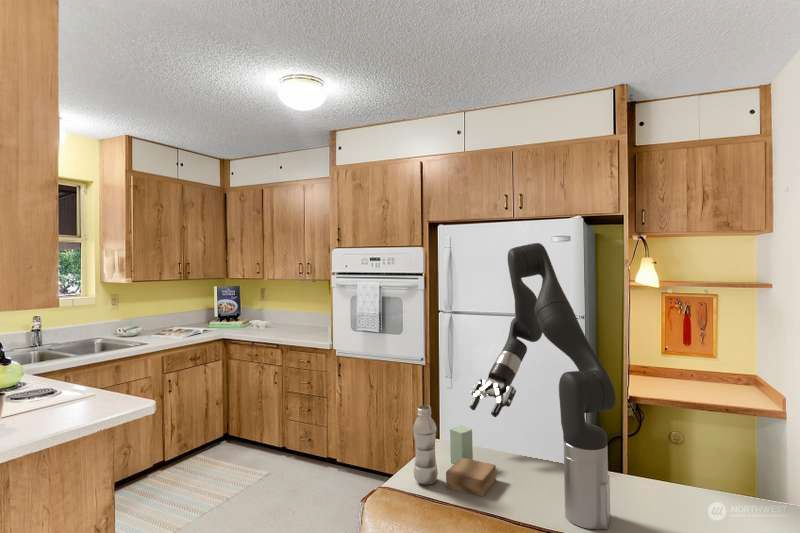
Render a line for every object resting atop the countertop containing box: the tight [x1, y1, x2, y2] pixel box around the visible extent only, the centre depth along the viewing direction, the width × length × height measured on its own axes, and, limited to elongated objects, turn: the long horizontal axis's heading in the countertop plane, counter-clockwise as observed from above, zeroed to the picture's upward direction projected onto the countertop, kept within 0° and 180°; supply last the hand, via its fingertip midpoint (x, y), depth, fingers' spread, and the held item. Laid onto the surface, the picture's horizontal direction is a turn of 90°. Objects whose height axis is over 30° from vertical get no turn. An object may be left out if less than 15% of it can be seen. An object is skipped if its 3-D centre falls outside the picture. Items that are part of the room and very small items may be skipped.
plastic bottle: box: [412, 405, 439, 485], centre depth 121 cm, size 6×7×20 cm
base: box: [445, 458, 497, 497], centre depth 119 cm, size 10×10×4 cm
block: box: [449, 425, 474, 465], centre depth 132 cm, size 4×4×10 cm
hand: (482, 412), depth 138 cm, fingers open, 8 cm apart
